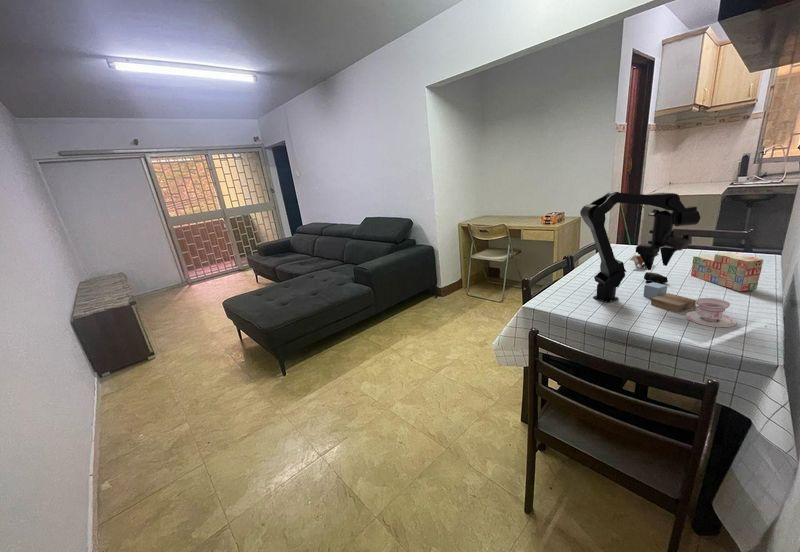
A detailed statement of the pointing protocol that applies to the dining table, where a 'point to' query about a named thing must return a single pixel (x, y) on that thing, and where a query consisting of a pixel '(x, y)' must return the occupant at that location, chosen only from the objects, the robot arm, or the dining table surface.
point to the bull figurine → (637, 259)
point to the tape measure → (655, 277)
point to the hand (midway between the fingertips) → (657, 267)
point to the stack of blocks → (728, 270)
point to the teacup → (711, 313)
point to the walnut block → (673, 302)
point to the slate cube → (654, 290)
